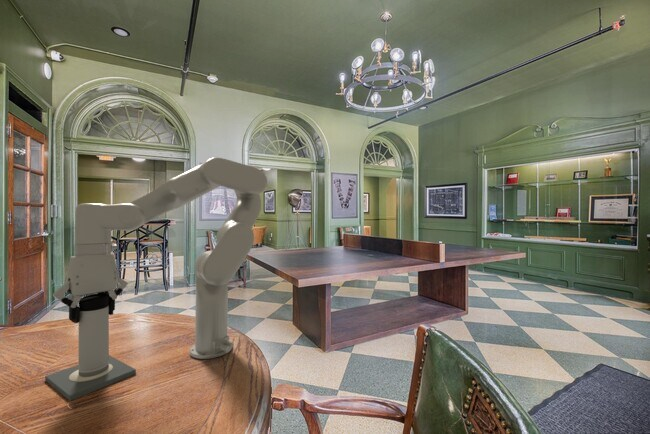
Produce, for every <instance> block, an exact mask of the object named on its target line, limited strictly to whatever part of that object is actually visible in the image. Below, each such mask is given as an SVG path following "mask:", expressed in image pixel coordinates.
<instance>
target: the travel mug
mask: <svg viewBox="0 0 650 434" xmlns="http://www.w3.org/2000/svg"><path fill="white" fill-rule="evenodd" d="M78 307H79V308H80V319H79V322H78V365H79V376H81V377H90V376H95V375H98V374H100V373H102V372H104V371H106V370H107V369H108V368H109V355H110V350H109V349H110V344H109V343H110V342H109V341H110V338H109V337H110V334H109V333H110V332H109V331H110V325H109V323H110V318H109V317H110V315H109V305H108V294H106V293H105V292H101V293H96V294H90V295H84V296H82V297H81V299H80V301H79V303H78Z"/></svg>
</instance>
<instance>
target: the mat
mask: <svg viewBox="0 0 650 434" xmlns="http://www.w3.org/2000/svg"><path fill="white" fill-rule="evenodd" d="M136 372H137V369H136V368H134V367H132V366H131V365H128V364H126V363H125V362H123V361H121V360H119V359H118V358H115V357H113V356H112V355H110V354H109V368H108V369H107V370H106V371H104V372H102V373H100V374H98V375H95V376H90V377H81V376H79V364H77V365H74V366H71V367H68V368H65V369H64V368H63V370H62V369H61V370H59V371H56V372H52V373H50V374H46V375H45V378H44V379H45V380H44V381H45V382H46V383H48V385H50V386H51V387H52V388H54V389H55V390H56V391H57V392H58V393H59V394H60V395H62V396H63V397H64V398H65V399H67V400H68V401H69V402H71V401H73V400H76V399H78V398H81V397H83V396H85V395H88V394H90V393H93V392H96V391H97V390H98V391H99V390H100V389H102V388H105V387H108V386H109V385H113V384H114V383H117V382H119V381H122V380H124V379H126V378H129V377H132V376H133V375H136V374H137V373H136Z"/></svg>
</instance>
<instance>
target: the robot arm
mask: <svg viewBox="0 0 650 434" xmlns="http://www.w3.org/2000/svg"><path fill="white" fill-rule="evenodd" d="M219 187H224V188H227V189H231V190H234V193H235V195H236V201H235V202H236V203H235V205H234V207H233V209H232V210H231V212H230V214H229V215H228V217H227V218H226V219H225V221H224V222H223V224H222V225H221V227H219V229H218V231H217V233H216V238H215V239H216V242H217V244H215V246H214V248H213V249H212V250H207V251H204V252H202V253H201V254H199V256H198V257H197V259H196V261H195V264H194V278H195V322H194V323H195V327H194V328H195V333H194V334H195V336H194V337H195V338H194V340H195V342H194V344H193V345H192V346H191V347H190V348H189V355H190V356H191V357H192V358H194V359H197V360H198V359H200V360H207V359H208V360H210V359H214V358H218V357H221V356H225V355H227V354H228V353H230V351H231V350H232V349H233V348H234V343H233V342H232V341H230V336H229V335H228V318H229V317H228V314H229V313H228V309H229V308H228V307H229V305H228V303H229V301H228V300H229V289H228V283H230V281H232V279H233V278H234V277H235V275H236V274H237V272H238V270H239V269H240V268H241V266H242V264H243V262H244V261H245V260H246V258H247V256H248V255H249V253H250V251H251V250H252V248H253V246H254V245H253V244H254V241H255V234H254V231H253V227H254V226H255V223H256V222H257V220H258V218H259V216H260V214H261V209H262V200H261V194H262V193H263V192H264V191H265V190H266V188H267V187H268V178H267V176H266V174H265V173H264V172H263V170H261V169H259V168H257V167H254V166H251V165H248V164H245V163H244V164H243V163H241V162H237V161H234V160H230V159H227V158H223V157H217V156H216V157H211V158H208V159H207V160H206V161H204V162H203V163H202V164H199V165H197V166H195V167H193V168H192V169H189V170H187V171H185V172H183V173H181V174H179V175H176V176H174V177H171V178H169V179H168V180H166V181H164V182H163V183H162V184H160V185H159V186H158V187H157V188H155V189H154V190H152V191H150V192H148V193H147V194H145V195H143V196H141V197H139V198H137V199H135V200H132V201H131V202H128V203H127V202H125V203H117V204H116V203H115V204H105V203H93V202H92V203H90V202H89V203H88V202H86V203H85V202H84V203H78V205H77V206H76V208H75V222H74V223H75V225H74V226H75V227H74V229H75V235H74V236H75V237H74V238H75V239H74V255H73V256H70V258H69V262H68V267H67V272H66V278H65V279H66V280H65V283H64V284H63V285H62V286H60V287H59V288H58V289H57V290H55V292H53V293H52V297H54V298H55V299H56V300H58V301H60V302H61V303H63V304H64V305H65V306H67V307H68V320H69V321H70V322H71V323H74V324H79V319H80V308H79V301H80V299H81V298H83V297H85V296H88V295H92V294H98V293H101V292H105V293H106V294H108V305H109V316H112V315H114V311H115V310H116V300H117V299H118V296H119V295H120V294H122V292H123V290H124V289H125V287H127V285H128V281H125V279H123V278H121V277H119V276H118V267H117V262H116V256H115V254H114V253H112V252H113V251H114V250H117V249H118V245H117V244H114V243H113V242H112V230H114V231H115V230H116V231H126V232H131V231H135V230H137V229H139V228H141V226H143V225H145V224H147V223H149V222H151V221H153V220H154V219H156V218H158V217H160V216H162V215H164V214H167V213H168V212H170V211H173V210H175V209H179V208H181V207H183V206H185V205H188V204H189V203H191V202H193V201H195V200H197V199H199V198H200V197H202V196H204V195H206V194H207V193H210V192H211V191H213V190H215V189H217V188H219ZM65 293H66V294H68V295H70V297H69V298H68V297H67V296H65V295H64V294H65Z"/></svg>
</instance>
